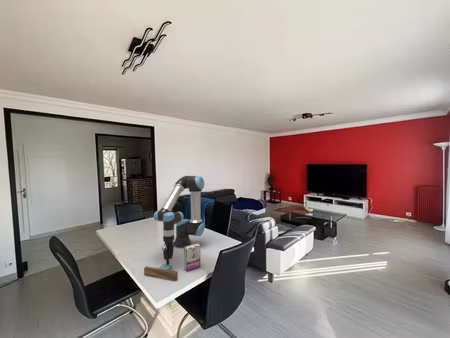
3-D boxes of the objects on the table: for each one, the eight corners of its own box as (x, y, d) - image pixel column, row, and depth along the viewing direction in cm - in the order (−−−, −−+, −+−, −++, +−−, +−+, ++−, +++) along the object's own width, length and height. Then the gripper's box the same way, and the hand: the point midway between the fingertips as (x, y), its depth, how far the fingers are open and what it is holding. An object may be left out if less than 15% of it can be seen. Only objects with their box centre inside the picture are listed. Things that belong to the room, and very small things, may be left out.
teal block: (163, 269, 143) (163, 263, 143) (171, 271, 141) (171, 265, 141) (157, 275, 136) (157, 268, 136) (166, 276, 134) (166, 270, 134)
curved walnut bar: (146, 273, 138) (146, 266, 138) (177, 279, 131) (177, 271, 131) (144, 275, 135) (144, 267, 135) (175, 281, 129) (175, 273, 129)
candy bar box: (197, 264, 150) (197, 242, 150) (200, 267, 146) (200, 245, 146) (183, 269, 144) (183, 246, 144) (186, 272, 140) (186, 248, 139)
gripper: (169, 231, 149) (168, 262, 150) (158, 237, 137) (158, 271, 137) (178, 232, 147) (177, 264, 148) (168, 238, 135) (168, 273, 135)
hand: (168, 267), depth 143 cm, fingers closed
